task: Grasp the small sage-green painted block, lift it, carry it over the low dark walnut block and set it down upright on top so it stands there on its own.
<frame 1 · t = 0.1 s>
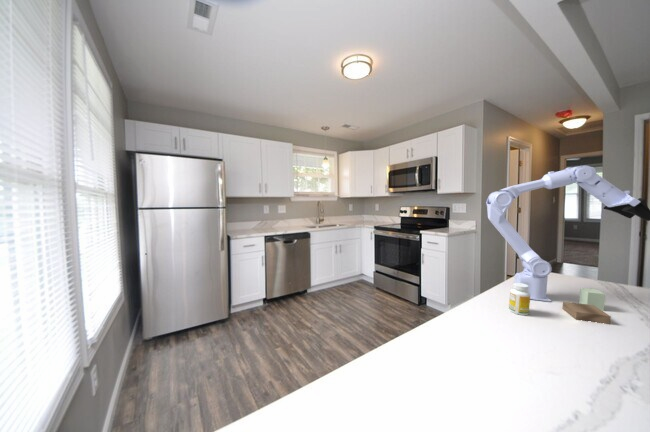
hand: (641, 217, 82), 32 cm above the countertop, tool tilted 50°, fingers open, 7 cm apart
sage block: (591, 307, 86), on the countertop
supplement bottle: (518, 312, 83), on the countertop
walnut block: (584, 317, 80), on the countertop
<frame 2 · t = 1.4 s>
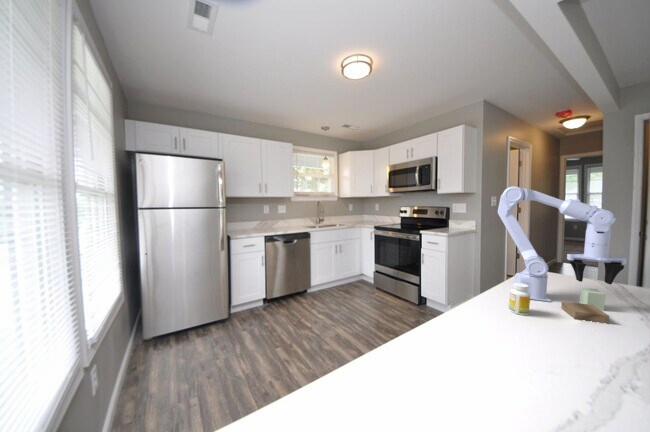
hand: (593, 282, 85), 9 cm above the countertop, tool pointing down, fingers open, 7 cm apart
nothing on the countertop moved.
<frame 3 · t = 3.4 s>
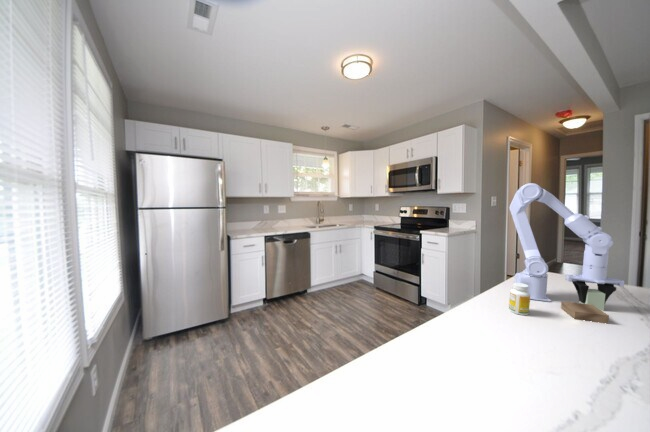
hand: (591, 303, 86), 2 cm above the countertop, tool pointing down, fingers closed on sage block, 4 cm apart
sage block: (591, 307, 86), on the countertop, touching gripper
everything else where it was.
when the fingers open (6 cm above the countertop, at t = 8.4 s): sage block drops 1 cm, point 3 cm above the countertop.
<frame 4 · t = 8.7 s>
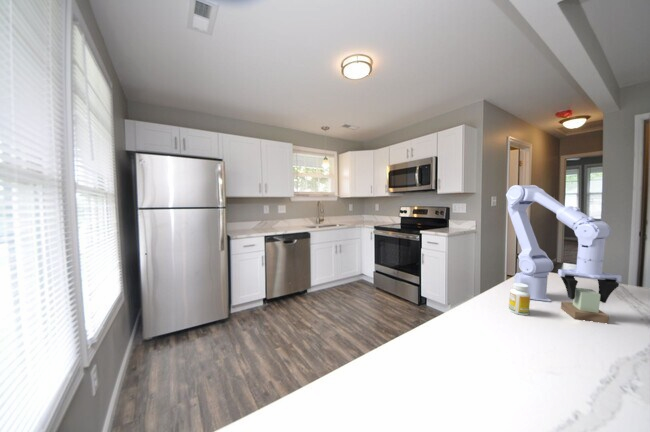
hand: (586, 299, 79), 6 cm above the countertop, tool pointing down, fingers open, 7 cm apart
sage block: (585, 308, 80), point 3 cm above the countertop
everything else where it was.
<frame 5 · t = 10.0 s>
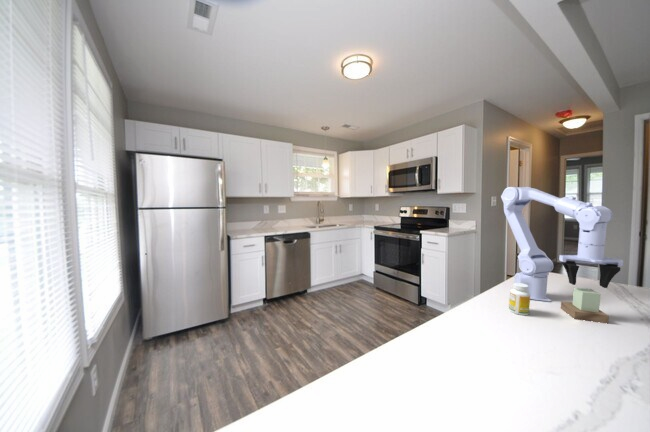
hand: (587, 285, 79), 10 cm above the countertop, tool pointing down, fingers open, 7 cm apart
sage block: (585, 308, 80), point 3 cm above the countertop, touching walnut block
walnut block: (582, 316, 80), on the countertop, touching sage block
everything else where it was.
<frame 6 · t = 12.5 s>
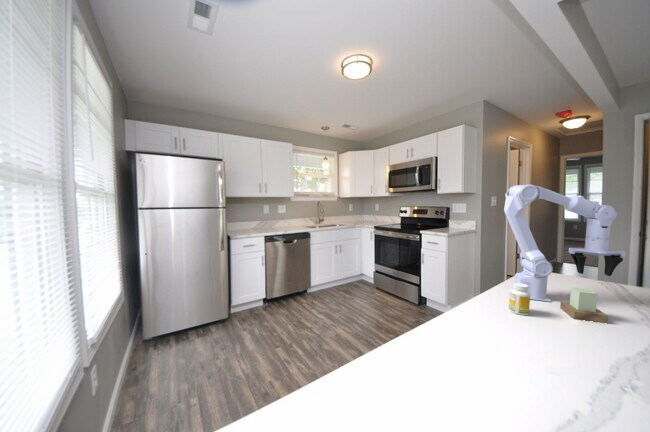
hand: (593, 274, 90), 10 cm above the countertop, tool pointing down, fingers open, 7 cm apart
nothing on the countertop moved.
at the end: sage block 0.2 cm off-centre on the walnut block, point 3.0 cm above the walnut block's base; sage block tilted 0°; the gripper is holding nothing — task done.
